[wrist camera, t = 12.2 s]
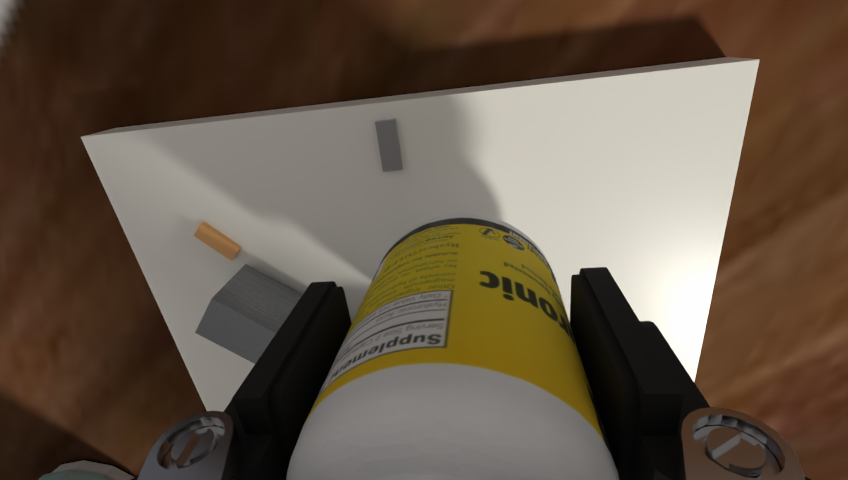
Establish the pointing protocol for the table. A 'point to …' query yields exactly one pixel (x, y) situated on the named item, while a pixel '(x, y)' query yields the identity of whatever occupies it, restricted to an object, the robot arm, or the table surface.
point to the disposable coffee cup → (86, 472)
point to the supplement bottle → (457, 369)
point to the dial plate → (439, 191)
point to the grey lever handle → (247, 313)
